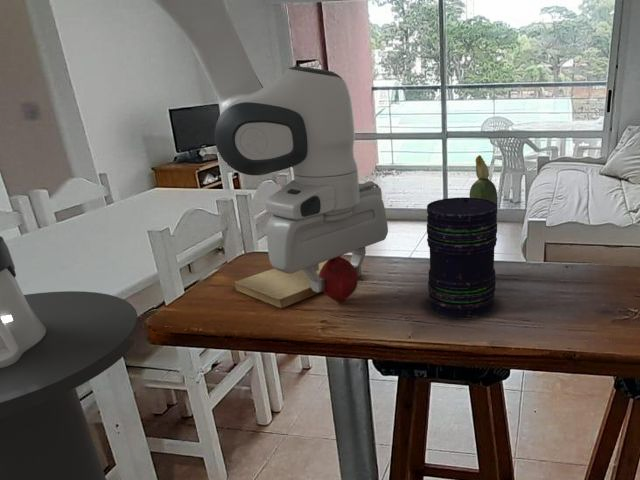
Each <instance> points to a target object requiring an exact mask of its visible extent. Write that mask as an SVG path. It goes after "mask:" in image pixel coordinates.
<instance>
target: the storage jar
mask: <svg viewBox="0 0 640 480" xmlns="http://www.w3.org/2000/svg"><path fill="white" fill-rule="evenodd" d="M496 213H497V215H496ZM426 214H427V216H426V234H427V238H426V242H427V246H428V248H429V270H428V282H427V290H428V297H429V302H428V303H429V304H428V305H429V307H428V308H429V309H430V311H431V312H432V313H433V314H435V315H437V316H440V317H443V318H447V319H451V320H453V319H454V320H470V319H471V320H472V319H477V318H482V317H484V316H487V315H489V314H490V313H491V312H493V311H494V309H495V300H494V299H495V297H496V291H497V285H496V284H497V282H496V270H495V248H496V246H497V241H498V237H497V234H498V206H497V204H496V203H495V202H493V201H490V200H486V199H480V198H470V197H466V196H465V197H463V196H462V197H448V198H442V199H437V200H434V201H431V202H429V203H428V204H427V205H426Z"/></svg>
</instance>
